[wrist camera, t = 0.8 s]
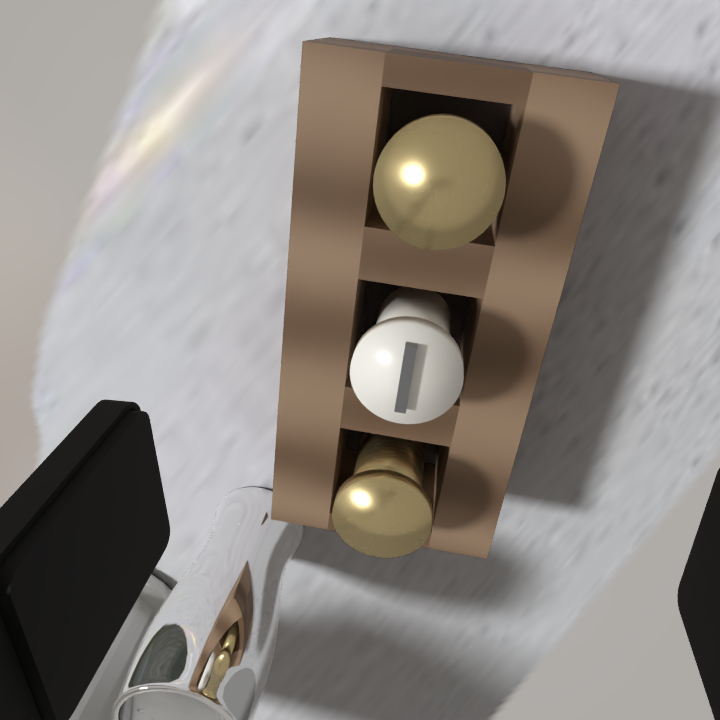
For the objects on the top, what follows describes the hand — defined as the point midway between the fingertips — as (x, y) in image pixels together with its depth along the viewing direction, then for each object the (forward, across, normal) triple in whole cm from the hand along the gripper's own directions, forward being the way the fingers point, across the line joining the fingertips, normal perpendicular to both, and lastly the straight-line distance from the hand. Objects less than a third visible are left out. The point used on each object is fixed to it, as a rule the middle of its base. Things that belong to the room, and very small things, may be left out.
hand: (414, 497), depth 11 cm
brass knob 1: (+21, +2, +15) cm, 26 cm away
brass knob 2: (+22, +1, -1) cm, 22 cm away
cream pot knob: (+21, +1, +7) cm, 22 cm away
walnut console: (+24, +2, +7) cm, 25 cm away
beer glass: (+24, +12, +24) cm, 36 cm away
